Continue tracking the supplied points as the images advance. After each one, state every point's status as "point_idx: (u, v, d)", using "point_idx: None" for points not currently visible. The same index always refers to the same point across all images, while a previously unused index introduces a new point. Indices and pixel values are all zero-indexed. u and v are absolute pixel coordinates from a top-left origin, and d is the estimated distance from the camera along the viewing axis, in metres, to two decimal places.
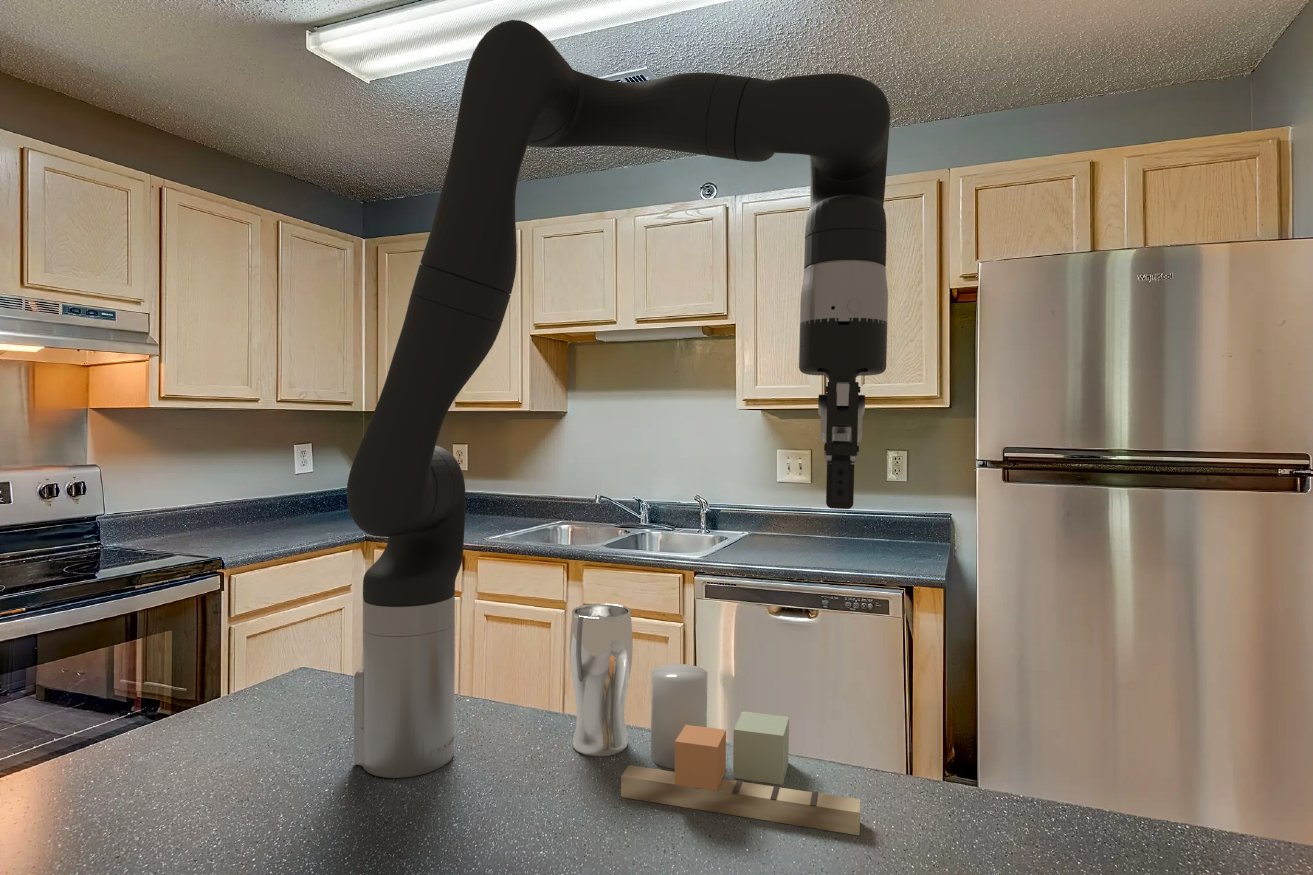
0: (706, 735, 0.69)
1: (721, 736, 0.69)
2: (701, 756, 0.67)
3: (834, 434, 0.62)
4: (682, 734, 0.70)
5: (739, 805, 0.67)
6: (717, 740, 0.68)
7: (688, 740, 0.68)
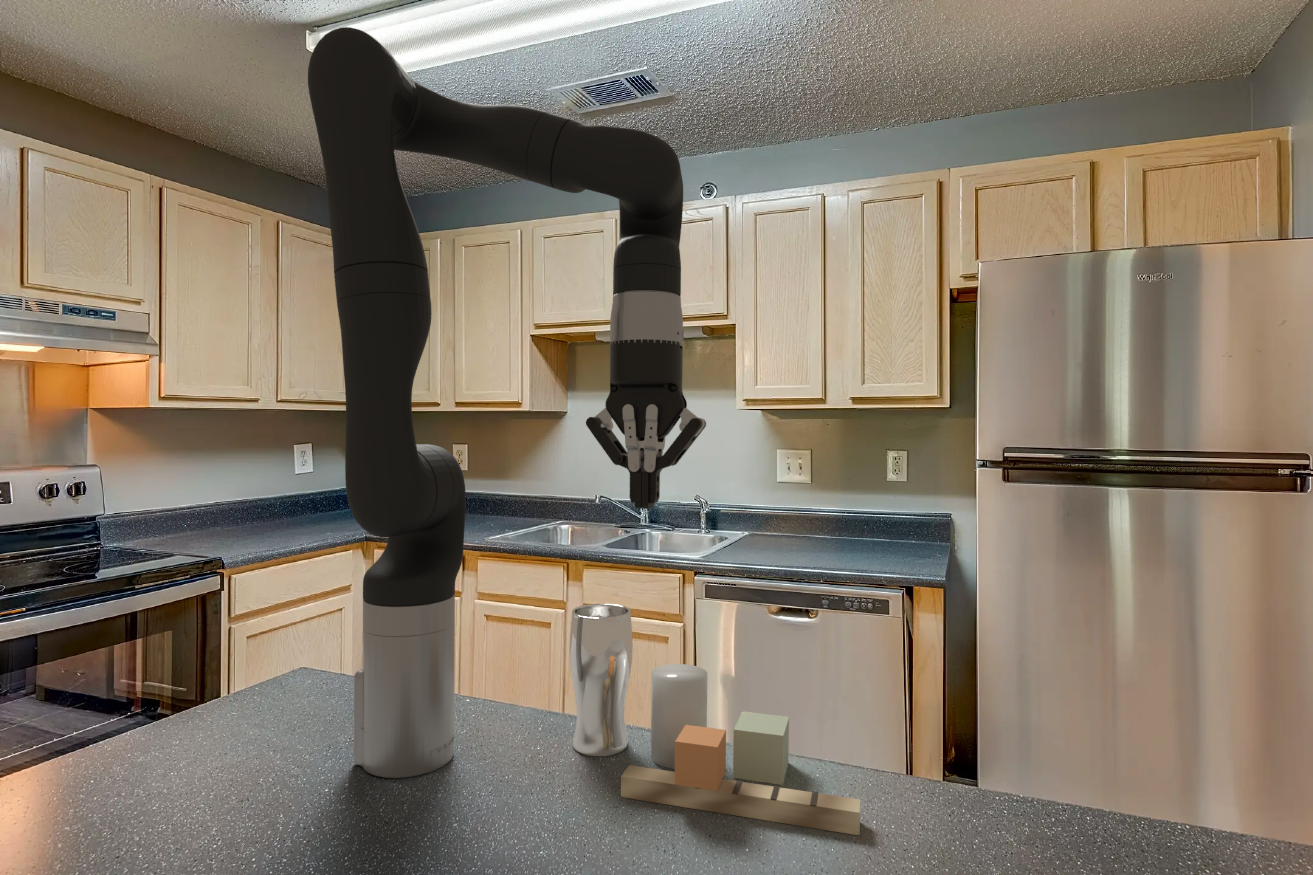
0: (706, 735, 0.69)
1: (721, 736, 0.69)
2: (701, 756, 0.67)
3: None
4: (682, 734, 0.70)
5: (739, 805, 0.67)
6: (717, 740, 0.68)
7: (688, 740, 0.68)
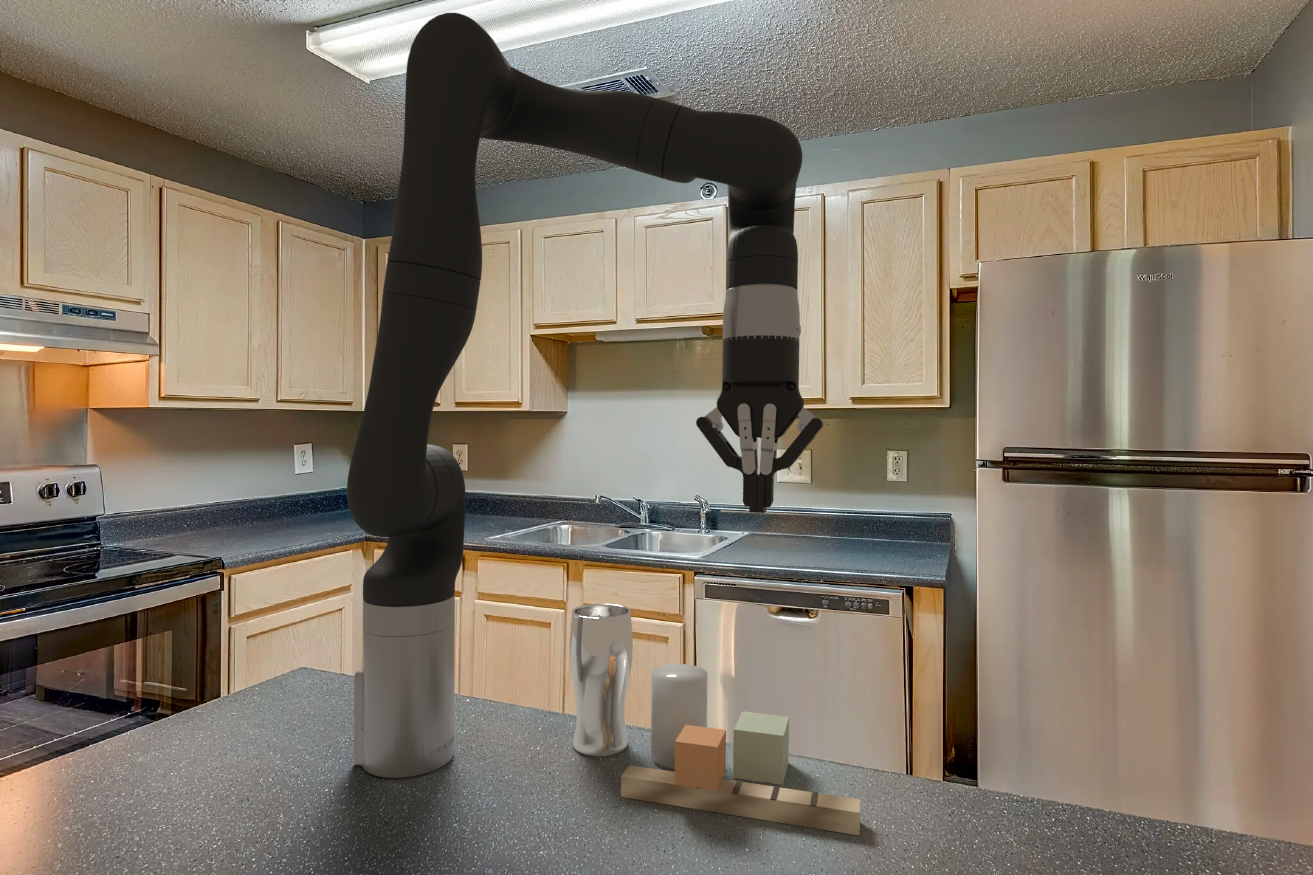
0: (706, 735, 0.69)
1: (721, 736, 0.69)
2: (701, 756, 0.67)
3: None
4: (682, 734, 0.70)
5: (739, 805, 0.67)
6: (717, 740, 0.68)
7: (688, 740, 0.68)
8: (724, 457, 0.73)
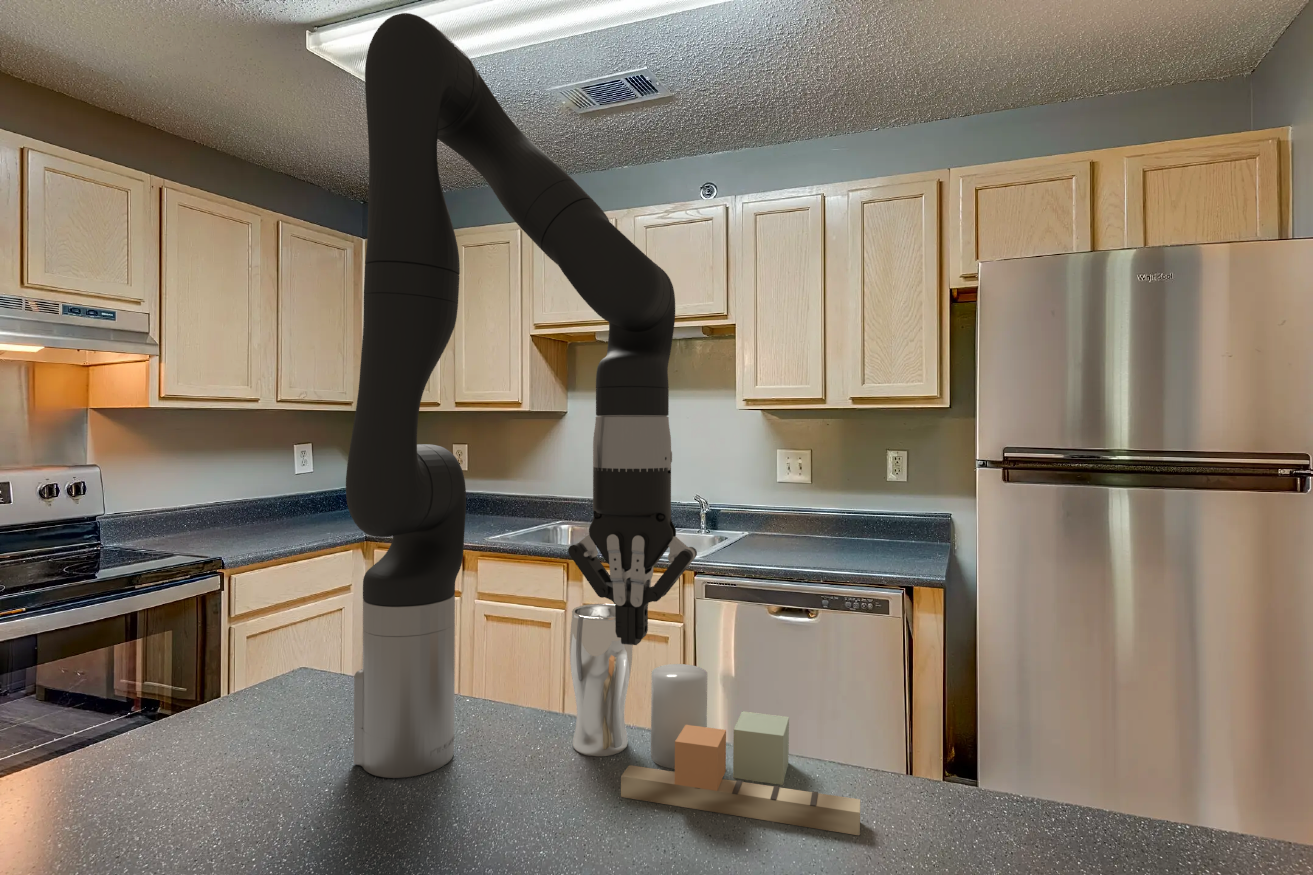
0: (706, 735, 0.69)
1: (721, 736, 0.69)
2: (701, 756, 0.67)
3: None
4: (682, 734, 0.70)
5: (739, 805, 0.67)
6: (717, 740, 0.68)
7: (688, 740, 0.68)
8: (596, 587, 0.71)
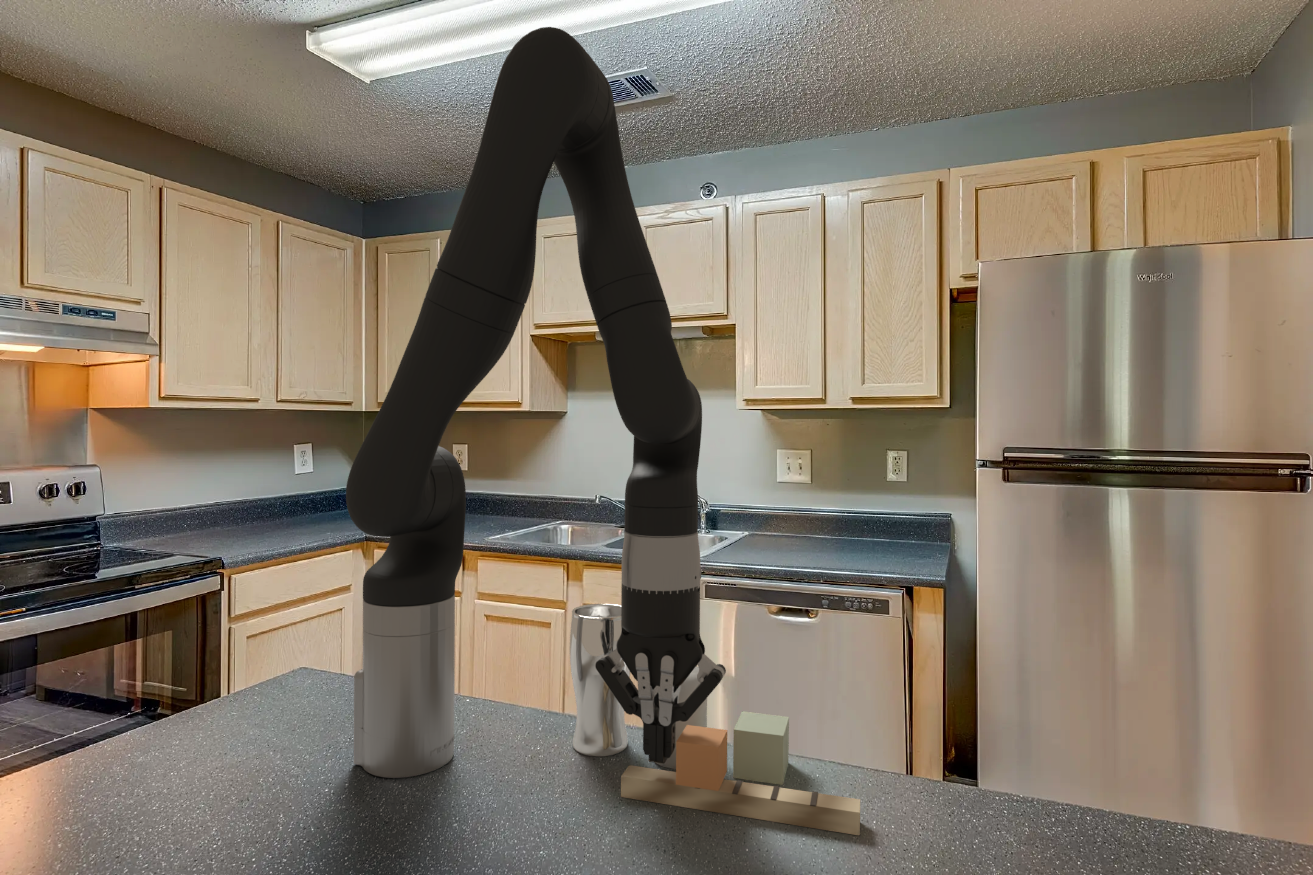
0: (707, 735, 0.69)
1: (722, 736, 0.69)
2: (702, 756, 0.67)
3: None
4: (683, 734, 0.70)
5: (739, 805, 0.67)
6: (718, 741, 0.68)
7: (689, 740, 0.68)
8: (623, 704, 0.70)
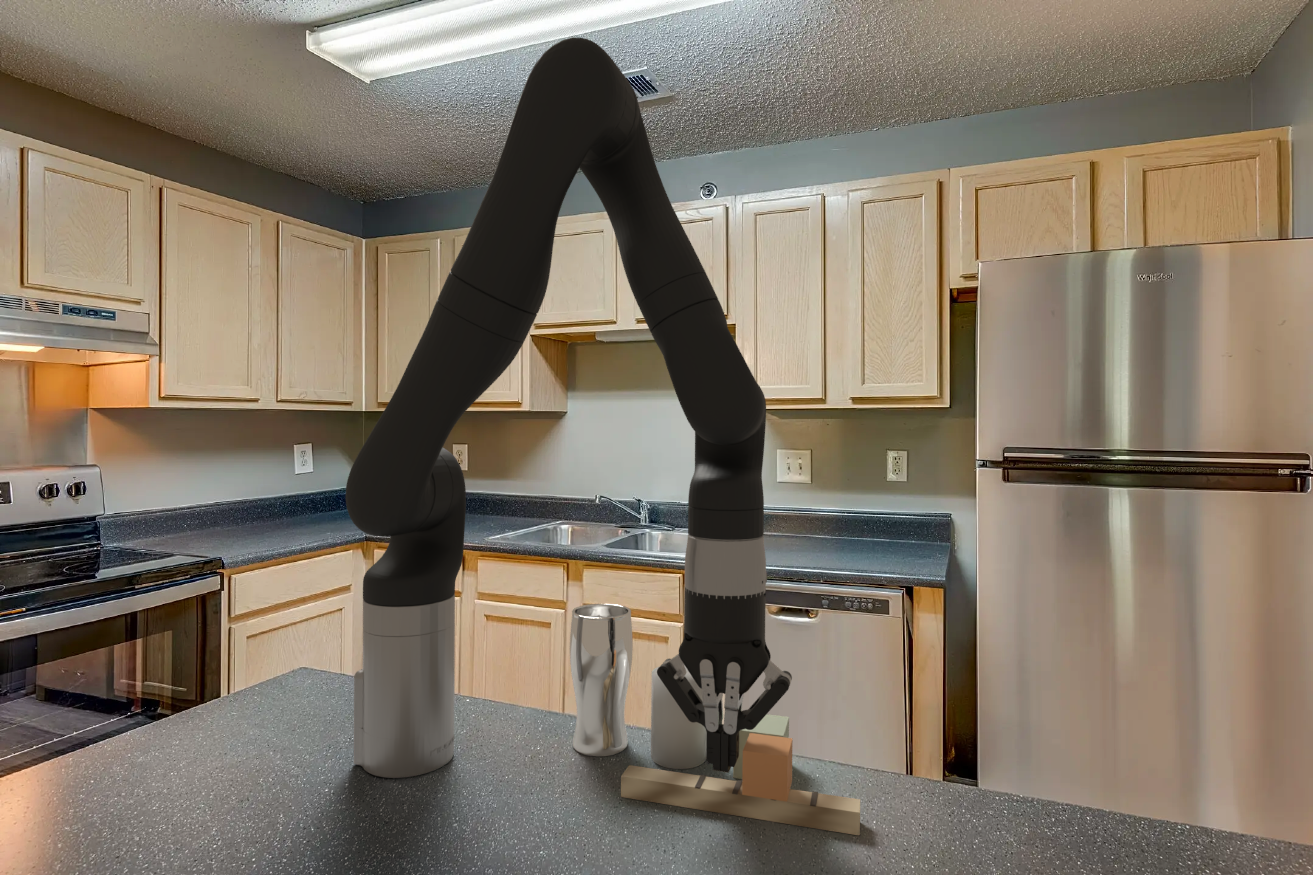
0: (773, 744, 0.68)
1: (789, 745, 0.67)
2: (770, 766, 0.66)
3: None
4: (748, 743, 0.68)
5: (739, 805, 0.67)
6: (786, 750, 0.66)
7: (756, 749, 0.67)
8: (686, 711, 0.69)
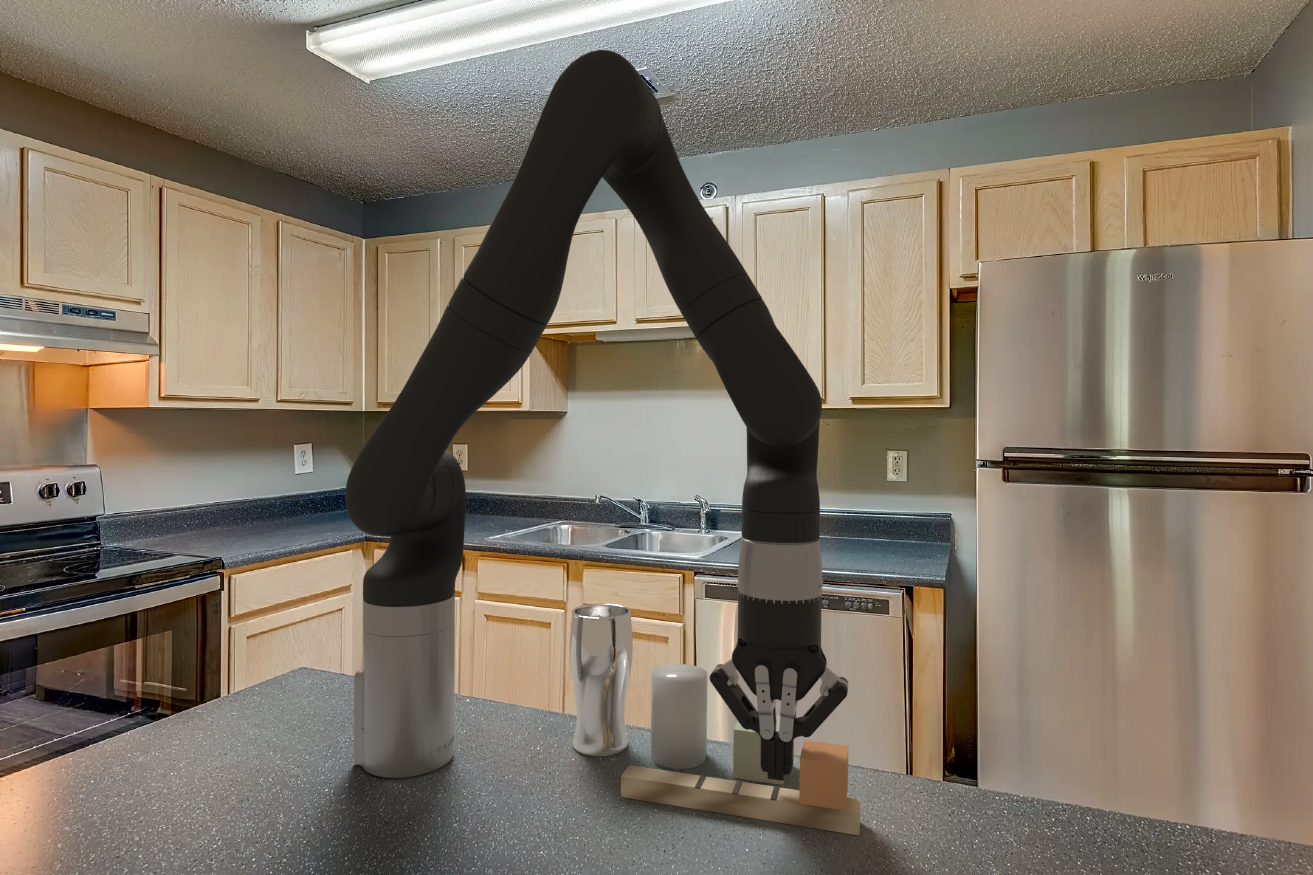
0: (829, 752, 0.66)
1: (846, 752, 0.66)
2: (829, 774, 0.64)
3: None
4: (804, 750, 0.66)
5: (739, 805, 0.67)
6: (844, 757, 0.65)
7: (813, 757, 0.65)
8: (740, 718, 0.67)
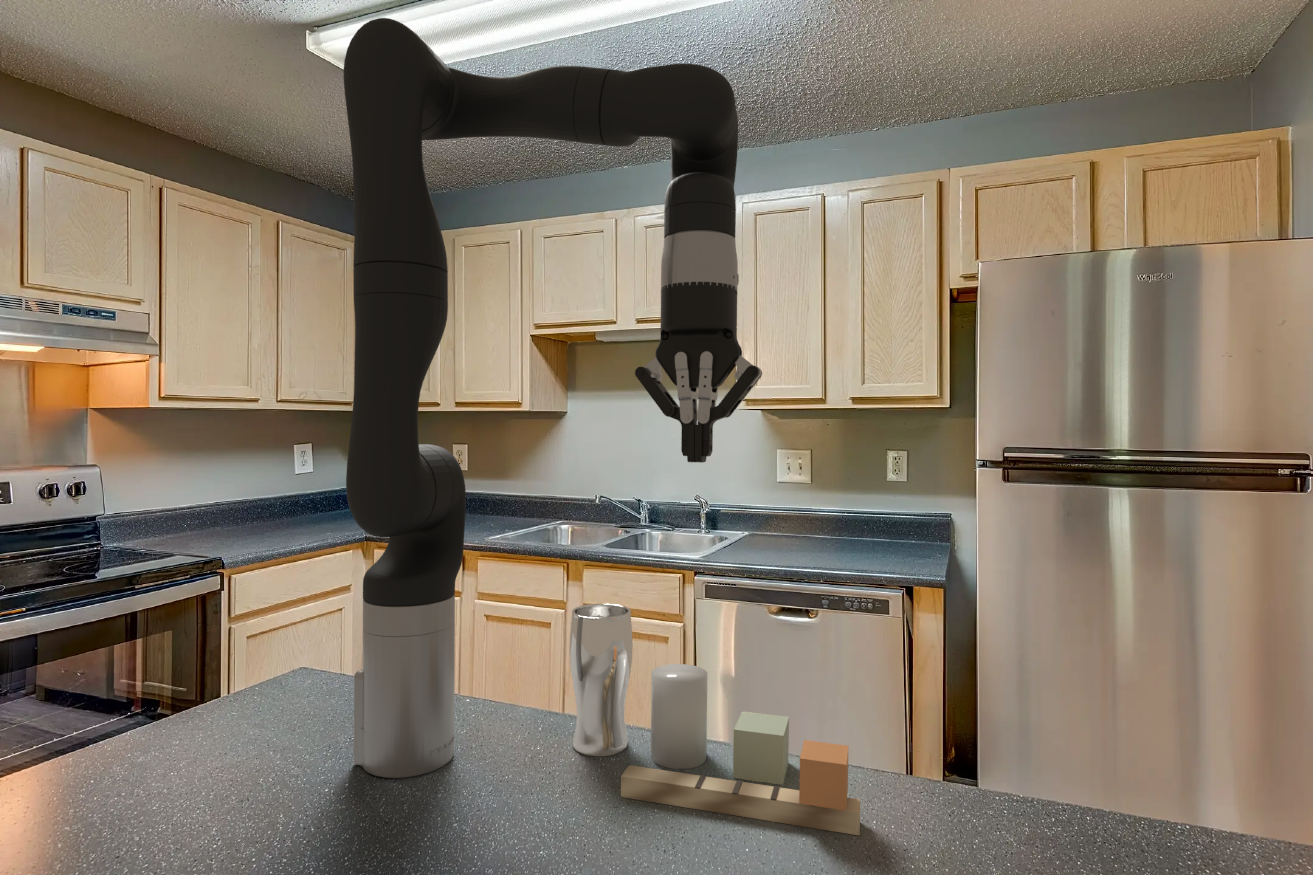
0: (829, 752, 0.66)
1: (846, 752, 0.66)
2: (829, 774, 0.64)
3: None
4: (804, 750, 0.66)
5: (739, 805, 0.67)
6: (844, 757, 0.65)
7: (813, 757, 0.65)
8: (662, 407, 0.72)
